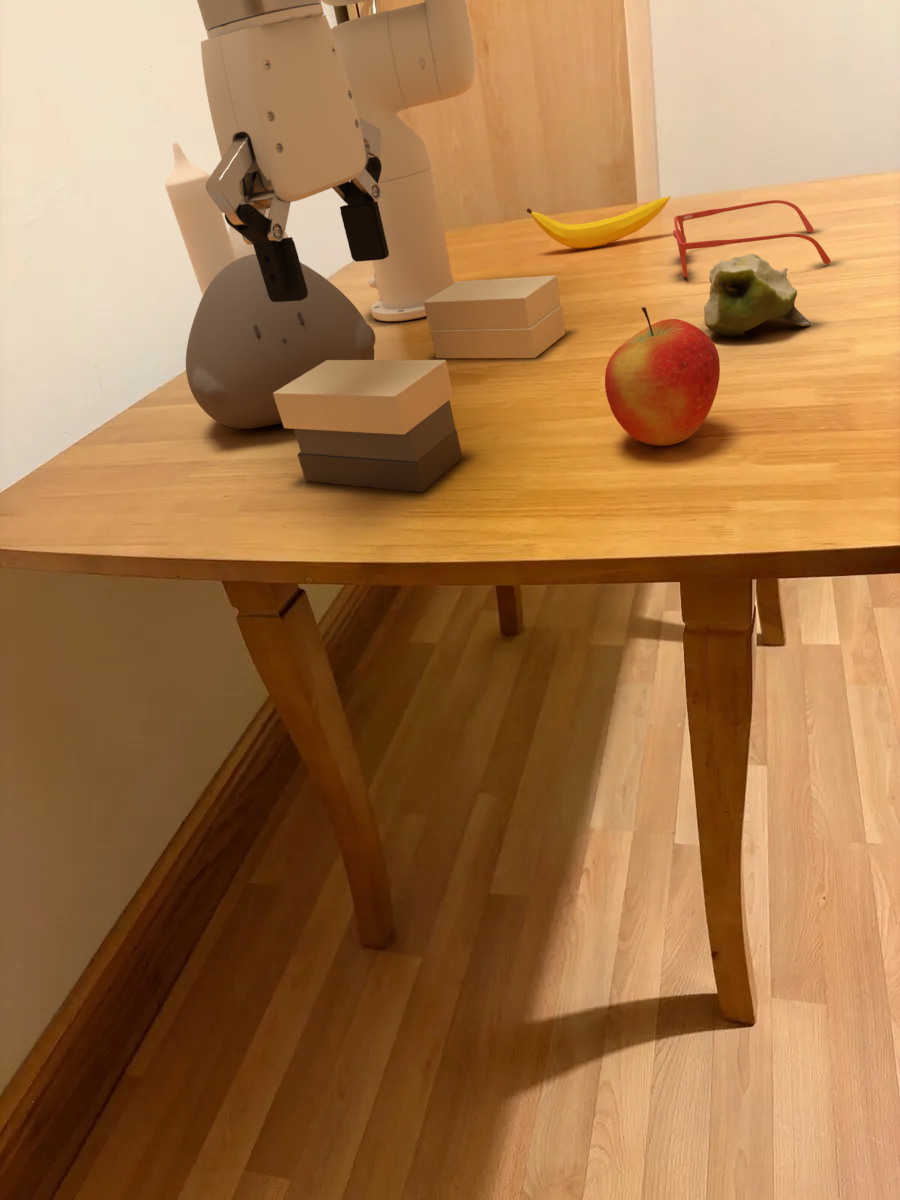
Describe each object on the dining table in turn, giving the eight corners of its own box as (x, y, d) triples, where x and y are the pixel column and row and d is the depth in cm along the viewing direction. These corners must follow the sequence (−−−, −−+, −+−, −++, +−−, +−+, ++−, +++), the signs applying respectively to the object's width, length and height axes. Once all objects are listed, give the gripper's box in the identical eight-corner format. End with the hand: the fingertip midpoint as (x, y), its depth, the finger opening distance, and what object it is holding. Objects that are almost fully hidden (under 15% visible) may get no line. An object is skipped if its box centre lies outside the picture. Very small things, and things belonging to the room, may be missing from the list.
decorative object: (358, 360, 101) (321, 220, 93) (406, 403, 86) (367, 241, 78) (198, 410, 97) (145, 269, 89) (219, 464, 82) (158, 300, 74)
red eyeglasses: (675, 251, 113) (672, 208, 110) (812, 229, 108) (812, 184, 106) (675, 290, 99) (672, 243, 96) (832, 267, 94) (833, 217, 92)
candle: (297, 373, 101) (223, 129, 88) (267, 398, 96) (184, 141, 83) (244, 378, 104) (165, 141, 91) (213, 402, 98) (124, 154, 85)
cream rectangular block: (283, 428, 72) (272, 392, 70) (336, 393, 76) (326, 359, 75) (404, 435, 65) (394, 396, 64) (453, 396, 70) (446, 359, 68)
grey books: (305, 481, 75) (287, 425, 72) (348, 450, 79) (332, 396, 76) (422, 492, 68) (408, 432, 66) (462, 457, 72) (450, 399, 70)
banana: (672, 238, 119) (669, 186, 115) (531, 259, 124) (524, 211, 121) (673, 233, 121) (670, 182, 117) (535, 254, 127) (528, 206, 123)
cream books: (434, 358, 96) (422, 302, 93) (468, 335, 100) (457, 280, 97) (535, 358, 89) (526, 297, 86) (566, 333, 94) (558, 275, 91)
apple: (701, 465, 63) (693, 324, 58) (595, 459, 67) (578, 327, 62) (736, 418, 68) (732, 285, 63) (636, 414, 73) (624, 290, 67)
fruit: (753, 366, 80) (731, 280, 76) (690, 353, 88) (666, 275, 84) (834, 315, 81) (816, 229, 77) (764, 308, 89) (745, 229, 85)
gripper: (302, 1, 64) (362, 249, 73) (116, 30, 53) (214, 320, 62) (385, -24, 60) (437, 242, 69) (204, 1, 49) (295, 316, 57)
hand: (332, 278), depth 65 cm, fingers open, 9 cm apart
